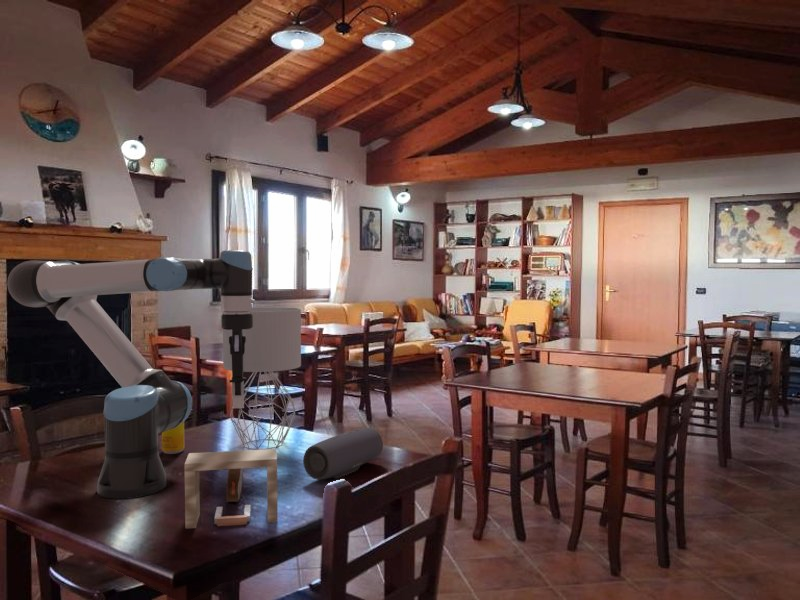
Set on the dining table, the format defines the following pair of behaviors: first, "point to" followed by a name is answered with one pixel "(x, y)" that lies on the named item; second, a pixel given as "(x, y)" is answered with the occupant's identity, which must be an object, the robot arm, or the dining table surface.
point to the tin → (234, 484)
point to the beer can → (173, 440)
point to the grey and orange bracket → (232, 517)
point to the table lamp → (268, 356)
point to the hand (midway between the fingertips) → (238, 407)
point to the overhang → (228, 461)
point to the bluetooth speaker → (342, 453)
